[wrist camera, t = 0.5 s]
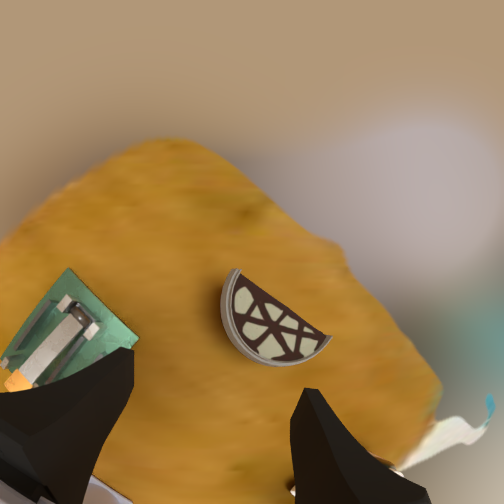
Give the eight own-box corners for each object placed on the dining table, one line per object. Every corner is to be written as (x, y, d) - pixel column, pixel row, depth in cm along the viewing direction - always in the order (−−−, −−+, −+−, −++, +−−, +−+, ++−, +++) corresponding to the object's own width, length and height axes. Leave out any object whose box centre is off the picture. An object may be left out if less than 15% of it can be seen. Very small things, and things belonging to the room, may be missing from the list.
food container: (188, 320, 35) (196, 321, 25) (218, 279, 37) (236, 265, 27) (270, 375, 36) (304, 392, 26) (296, 335, 38) (336, 338, 28)
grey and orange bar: (76, 307, 28) (75, 304, 27) (91, 323, 28) (91, 320, 27) (6, 384, 20) (3, 384, 19) (21, 402, 20) (18, 402, 19)
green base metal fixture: (70, 268, 32) (55, 259, 27) (139, 337, 33) (134, 340, 27) (3, 357, 26) (-18, 361, 21) (67, 425, 27) (53, 440, 22)
